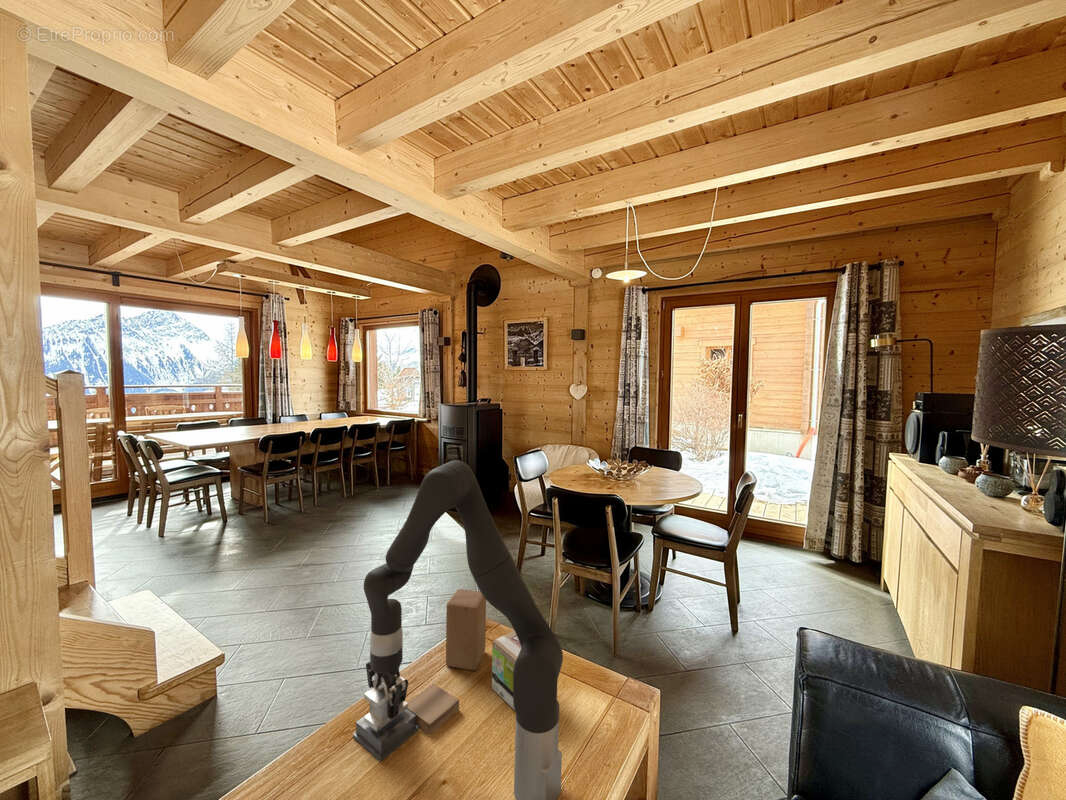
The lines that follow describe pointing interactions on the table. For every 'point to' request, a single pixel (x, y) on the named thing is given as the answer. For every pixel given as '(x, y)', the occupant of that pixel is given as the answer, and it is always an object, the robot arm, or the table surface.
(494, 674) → the tea box
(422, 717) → the stand
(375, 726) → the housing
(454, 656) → the wooden block
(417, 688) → the table surface
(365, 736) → the stand
